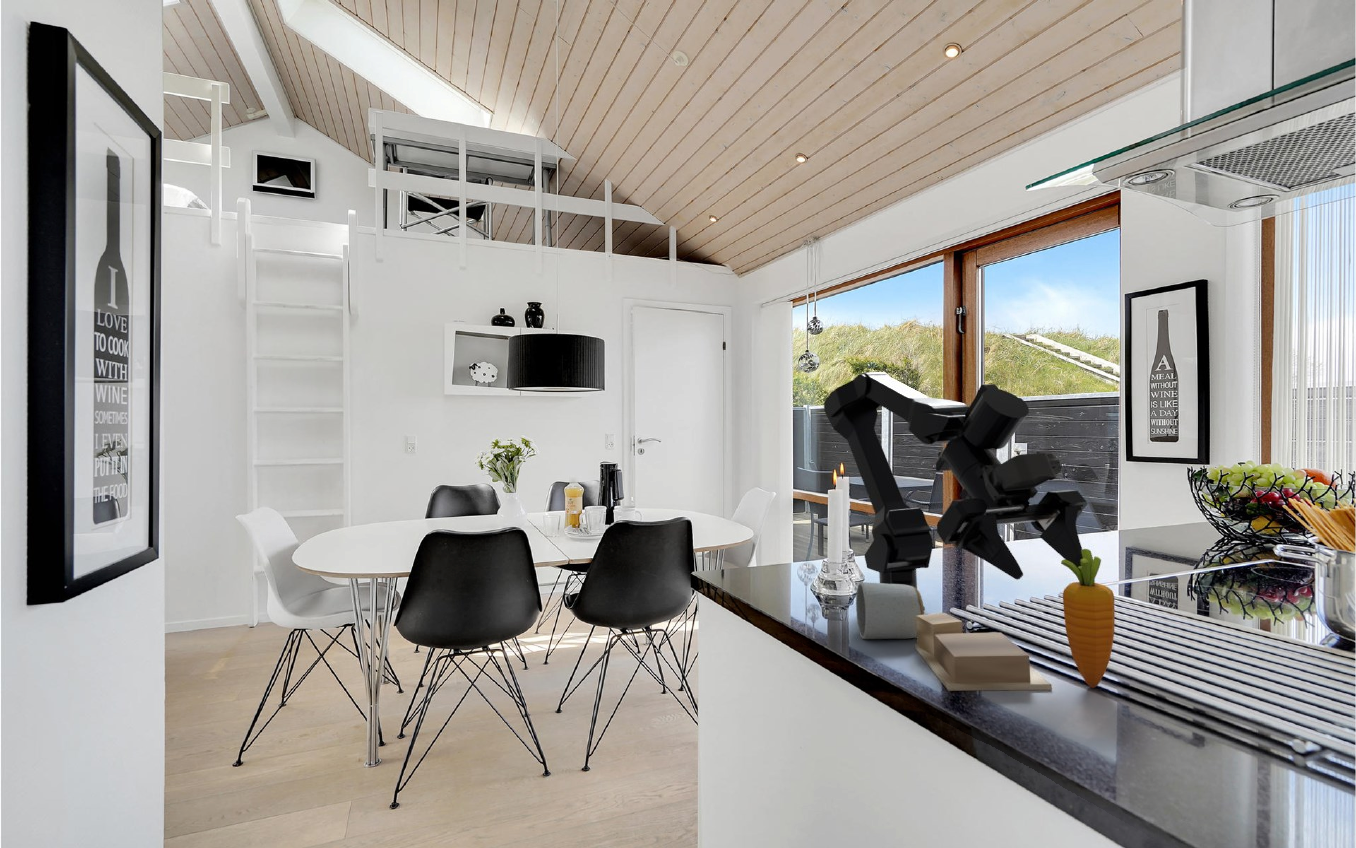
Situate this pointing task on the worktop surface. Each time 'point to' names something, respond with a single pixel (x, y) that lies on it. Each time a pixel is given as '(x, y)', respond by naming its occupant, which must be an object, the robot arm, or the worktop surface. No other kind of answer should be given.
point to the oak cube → (935, 629)
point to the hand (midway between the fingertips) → (1052, 573)
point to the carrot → (1089, 619)
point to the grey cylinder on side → (887, 610)
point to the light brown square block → (981, 658)
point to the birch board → (1035, 679)
